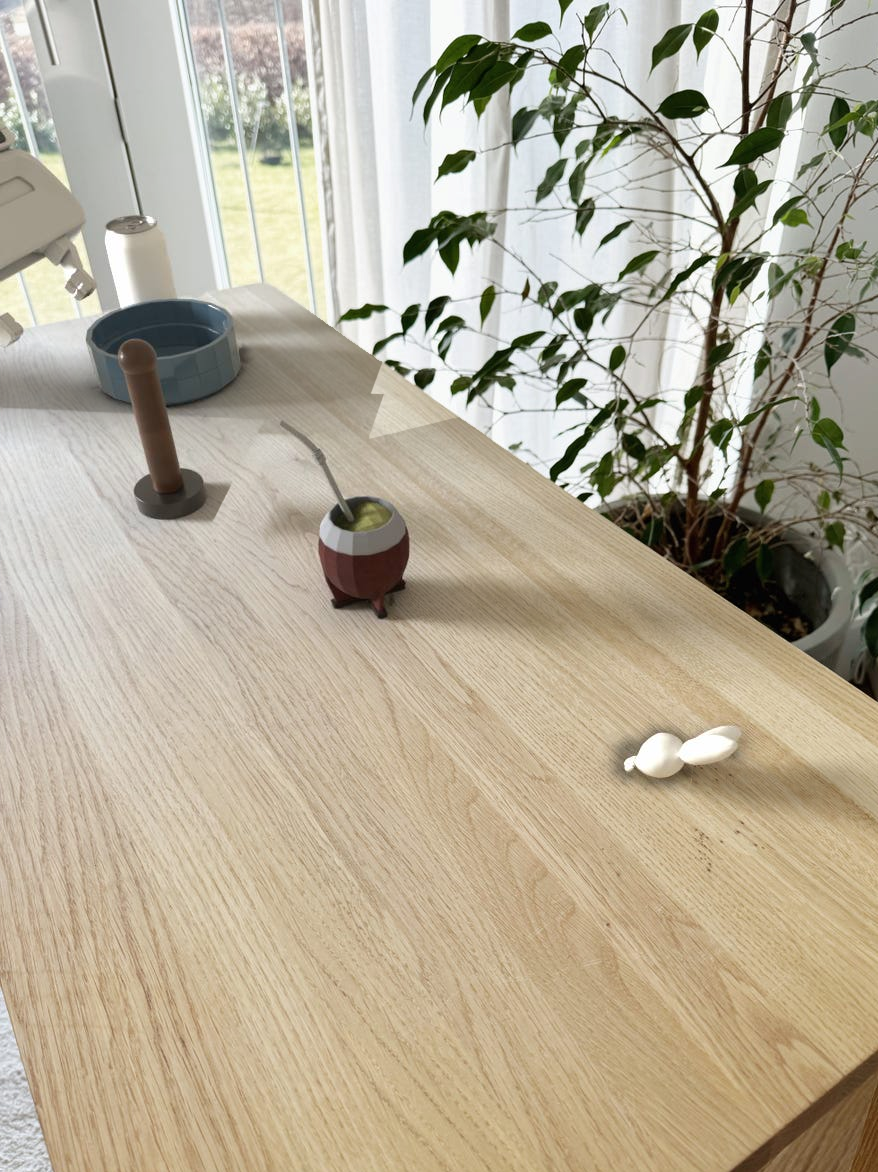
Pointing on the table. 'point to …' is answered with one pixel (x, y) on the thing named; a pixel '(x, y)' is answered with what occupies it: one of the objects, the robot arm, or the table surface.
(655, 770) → the rabbit figurine
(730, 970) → the table surface
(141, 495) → the wooden handled press
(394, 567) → the mate gourd
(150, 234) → the can
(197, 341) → the bowl
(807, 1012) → the table surface
